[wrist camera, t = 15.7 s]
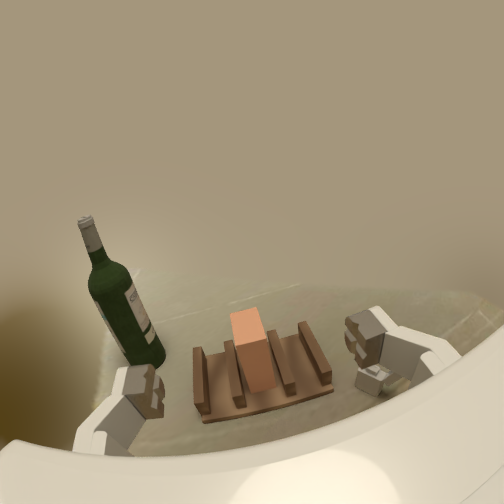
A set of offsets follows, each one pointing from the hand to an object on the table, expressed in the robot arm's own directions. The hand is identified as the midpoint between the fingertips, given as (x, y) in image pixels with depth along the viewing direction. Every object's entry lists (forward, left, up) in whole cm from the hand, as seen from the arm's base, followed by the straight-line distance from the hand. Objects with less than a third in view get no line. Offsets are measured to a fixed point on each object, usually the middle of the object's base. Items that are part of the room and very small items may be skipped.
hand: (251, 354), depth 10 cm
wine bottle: (+21, -31, -28) cm, 47 cm away
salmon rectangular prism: (0, -21, -27) cm, 34 cm away
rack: (0, -21, -28) cm, 35 cm away
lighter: (-16, -11, -28) cm, 34 cm away
